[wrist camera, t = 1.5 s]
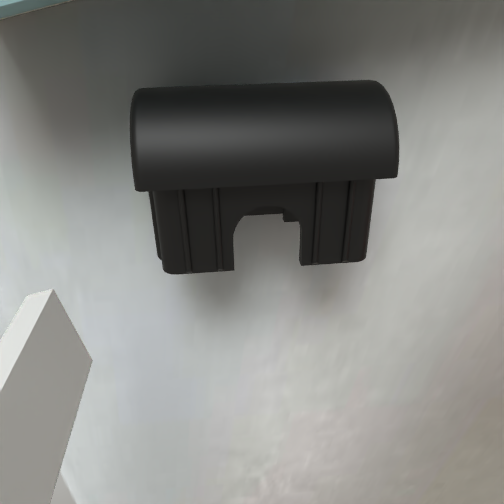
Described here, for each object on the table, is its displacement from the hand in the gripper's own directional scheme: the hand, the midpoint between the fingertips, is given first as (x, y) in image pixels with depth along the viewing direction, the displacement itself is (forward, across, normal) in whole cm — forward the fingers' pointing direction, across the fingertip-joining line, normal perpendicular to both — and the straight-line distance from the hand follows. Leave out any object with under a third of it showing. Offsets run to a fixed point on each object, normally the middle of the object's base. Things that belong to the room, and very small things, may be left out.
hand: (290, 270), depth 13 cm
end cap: (+12, 0, 0) cm, 12 cm away
